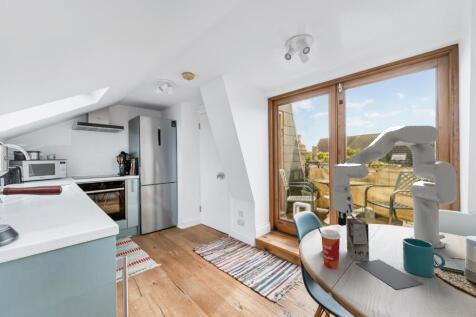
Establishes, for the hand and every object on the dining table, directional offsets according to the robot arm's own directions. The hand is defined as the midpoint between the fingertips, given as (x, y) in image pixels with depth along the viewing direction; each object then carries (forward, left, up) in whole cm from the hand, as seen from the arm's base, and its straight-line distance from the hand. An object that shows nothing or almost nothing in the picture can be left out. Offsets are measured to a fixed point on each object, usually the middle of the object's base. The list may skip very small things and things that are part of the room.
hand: (342, 225), depth 99 cm
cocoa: (+10, +2, -11) cm, 15 cm away
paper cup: (+17, +13, -11) cm, 24 cm away
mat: (0, +23, -11) cm, 26 cm away
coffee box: (0, +9, -11) cm, 15 cm away
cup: (-14, +26, -11) cm, 32 cm away
